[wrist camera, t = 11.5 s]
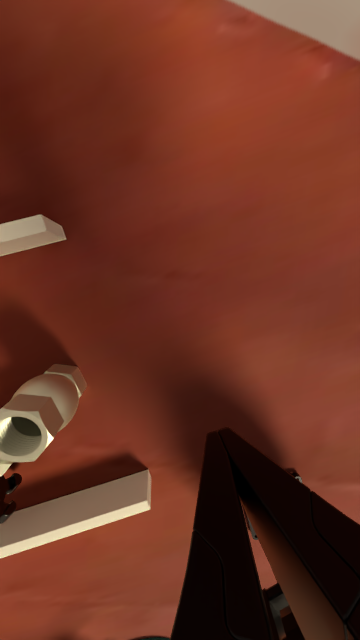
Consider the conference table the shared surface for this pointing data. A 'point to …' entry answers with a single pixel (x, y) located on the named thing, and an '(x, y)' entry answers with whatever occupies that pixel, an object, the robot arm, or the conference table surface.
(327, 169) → the conference table surface
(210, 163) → the conference table surface
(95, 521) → the frame
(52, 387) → the valve
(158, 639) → the toy helicopter
